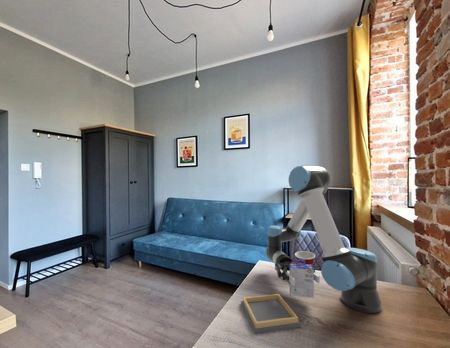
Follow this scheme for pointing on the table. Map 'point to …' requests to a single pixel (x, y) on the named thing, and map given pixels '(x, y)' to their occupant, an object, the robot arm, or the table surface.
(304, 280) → the ink cartridge box
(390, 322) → the table surface
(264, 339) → the table surface
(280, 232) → the robot arm
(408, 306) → the table surface
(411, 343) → the table surface
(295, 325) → the tray
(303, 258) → the plastic cup
